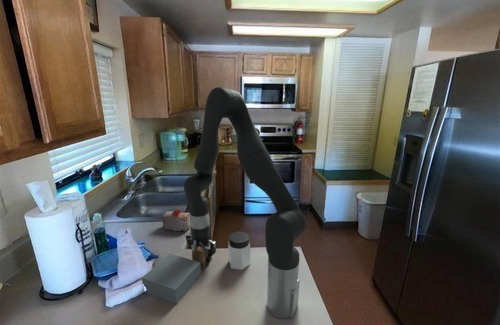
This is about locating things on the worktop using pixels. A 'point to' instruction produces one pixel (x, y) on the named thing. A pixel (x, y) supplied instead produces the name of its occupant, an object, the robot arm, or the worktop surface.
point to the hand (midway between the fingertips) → (202, 260)
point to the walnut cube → (199, 256)
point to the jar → (239, 250)
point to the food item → (176, 220)
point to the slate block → (172, 278)
